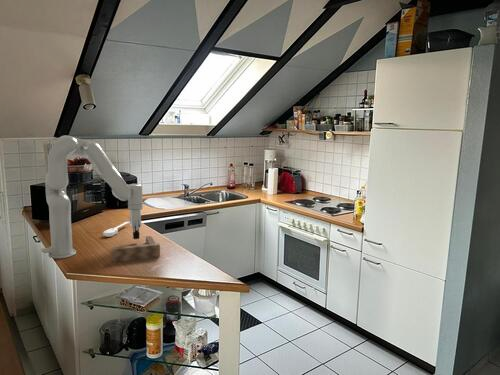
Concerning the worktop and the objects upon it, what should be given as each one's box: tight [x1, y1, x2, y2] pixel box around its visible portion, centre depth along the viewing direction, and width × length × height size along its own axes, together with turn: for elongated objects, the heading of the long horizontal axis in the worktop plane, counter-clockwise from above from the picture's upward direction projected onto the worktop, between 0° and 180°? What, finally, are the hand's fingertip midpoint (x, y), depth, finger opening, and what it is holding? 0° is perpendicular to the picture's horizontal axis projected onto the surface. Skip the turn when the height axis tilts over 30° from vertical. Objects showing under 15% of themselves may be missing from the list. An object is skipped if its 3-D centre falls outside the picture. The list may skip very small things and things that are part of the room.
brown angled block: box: [112, 235, 161, 263], centre depth 201 cm, size 22×26×6 cm
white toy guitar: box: [102, 221, 130, 238], centre depth 236 cm, size 28×6×3 cm, turn 171°
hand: (136, 238), depth 215 cm, fingers closed
